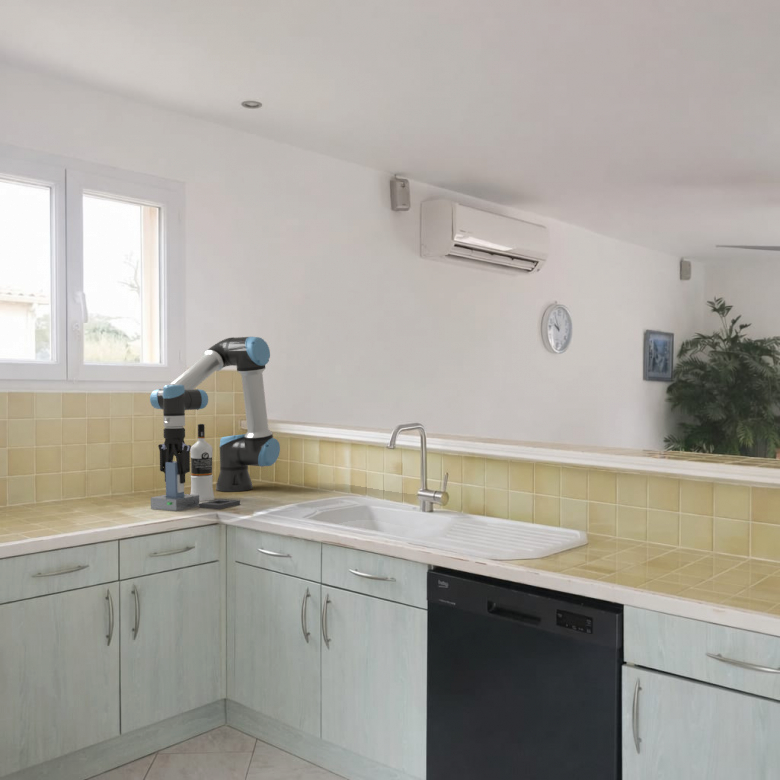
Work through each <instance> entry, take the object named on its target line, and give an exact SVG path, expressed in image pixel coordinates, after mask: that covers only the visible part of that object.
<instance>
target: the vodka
mask: <svg viewBox="0 0 780 780" xmlns="http://www.w3.org/2000/svg"><path fill="white" fill-rule="evenodd" d="M205 429H206V428H205V424H204V423H199V424H197V441H196V442H195V443H194V444H193V445H191V449H190V483H191V484H190V494H192V495H199V502H209V501H213V500H215V494H214V493H215V492H214V489H213V487H214V486H213V477H214V475H213V451H214V450H213V449H214V448H213V446H212V445H211V444H210V443H209V442H207V441H206V439H205V433H206V431H205Z"/></svg>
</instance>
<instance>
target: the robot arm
mask: <svg viewBox="0 0 780 780" xmlns="http://www.w3.org/2000/svg"><path fill="white" fill-rule="evenodd" d="M202 355H203V356H202V357H201V358H199V359H198V360H197V361H196V362H195V363H194V364H192V365H190V367H189V368H187V369H186V370H185V371H184V372H183V373H181V374H180V375H178V377H176V378H175V379H174V380H173V381H172V382H170V383H169V384H166V385H164V386H163V388H158V389H154V390H153V391H152V392H151V393H150V397H149V401H150V404H151V406H152V407H153V409H156V410H163V412H162V413H163V427H164V428H163V439H164V442H163V443H162V444H158V449H159V471H160V472H163V473H164V482H165V483H166V462H173V461H174V456H175V459H176V461H177V466H178V471H179V473H177V474H178V475H177V493H181V492H184V493H185V483H186V474H188V473H191V457H190V456H191V453H190V449H191V446H192V445H191V444H186V443H185V438H186V428H185V426H186V417H185V415H186V411H193V410H194V411H195V410H197V411H199V410H203V409H205V408H206V407H207V405H208V404H209V396H208V393H207V392H206V391H205V390H203V389H200V388H197V387H198V386H199V385H201V384H202V383H203V382H204V381H205V380H207V379H208V378H209V377H211V375H212V374H214V373H215V372H219V371H221V370H223V368H226V367H230V366H234V367H236V371H237V372H238V373H239V374H240V376H241V384H242V392H243V401H244V411H245V412H244V413H245V420H246V428H247V432H245V433H244V434H236V435H228V436H223V437H220V440H219V441H220V442H219V475H218V478H217V481H216V484H215V490H216V491H219V492H245V491H250V490H252V489H253V482H252V479H251V476H250V472H249V466H252V467H253V466H254V467H261V468H263V467H271V466H273V465H274V464H275V463H276V462H277V460H278V458H279V456H280V454H281V453H280V452H281V445H280V442H279V441H278V439H276V438H274V435H273V434H274V433H273V432H272V431H271V430H270V429H269V423H268V413H267V404H266V394H265V387H264V386H265V385H264V378H263V373H264V372H265V370H266V365H268V363H269V362H270V358H271V350H270V347H269V345H268V343H267V342H266V341H265V340H264V338H262V337H259V336H239V337H237V336H236V337H226V338H225V339H222V340H220V341H218V342H217V343H215V344H213V345H212V346H210V347H209V348H208V349H207V350H206V351H204V353H203V354H202Z"/></svg>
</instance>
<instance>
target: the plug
mask: <svg viewBox="0 0 780 780" xmlns="http://www.w3.org/2000/svg"><path fill="white" fill-rule="evenodd" d="M177 473H179V471H178V466H177V461H175V460H173V462H166V482H165V495H166V497H170V498H178V497H183V496H184V494H185V491H184V492H181V493H177V475H178V474H177Z"/></svg>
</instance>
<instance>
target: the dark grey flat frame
mask: <svg viewBox="0 0 780 780" xmlns="http://www.w3.org/2000/svg"><path fill="white" fill-rule="evenodd" d="M240 505H241V500H238V499H226V498H218V499H213V500H209V501H203V502H201V503H200V502H199V506H198V509H206V510H207V509H210V510H217V511H218V510H219V511H220V510H223V509H228V508H232V507H236V506H240Z"/></svg>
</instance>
